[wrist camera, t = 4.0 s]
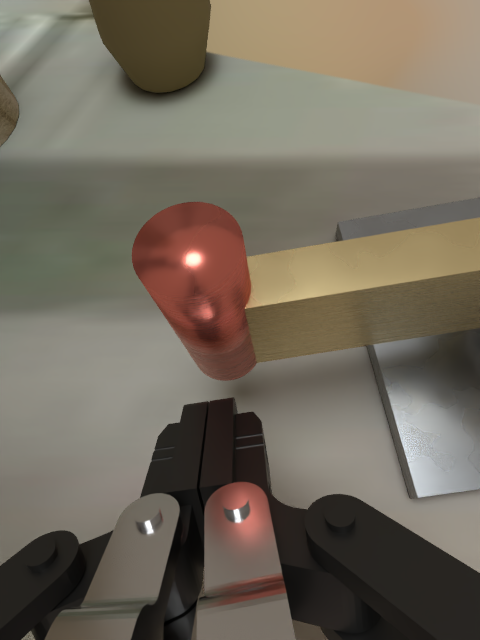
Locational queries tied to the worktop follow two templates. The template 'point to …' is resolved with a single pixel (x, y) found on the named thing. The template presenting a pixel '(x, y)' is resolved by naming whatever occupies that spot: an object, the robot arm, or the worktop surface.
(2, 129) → the tube
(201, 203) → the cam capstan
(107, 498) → the worktop surface
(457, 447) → the stand
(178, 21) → the squeeze bottle
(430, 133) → the worktop surface
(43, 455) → the worktop surface
